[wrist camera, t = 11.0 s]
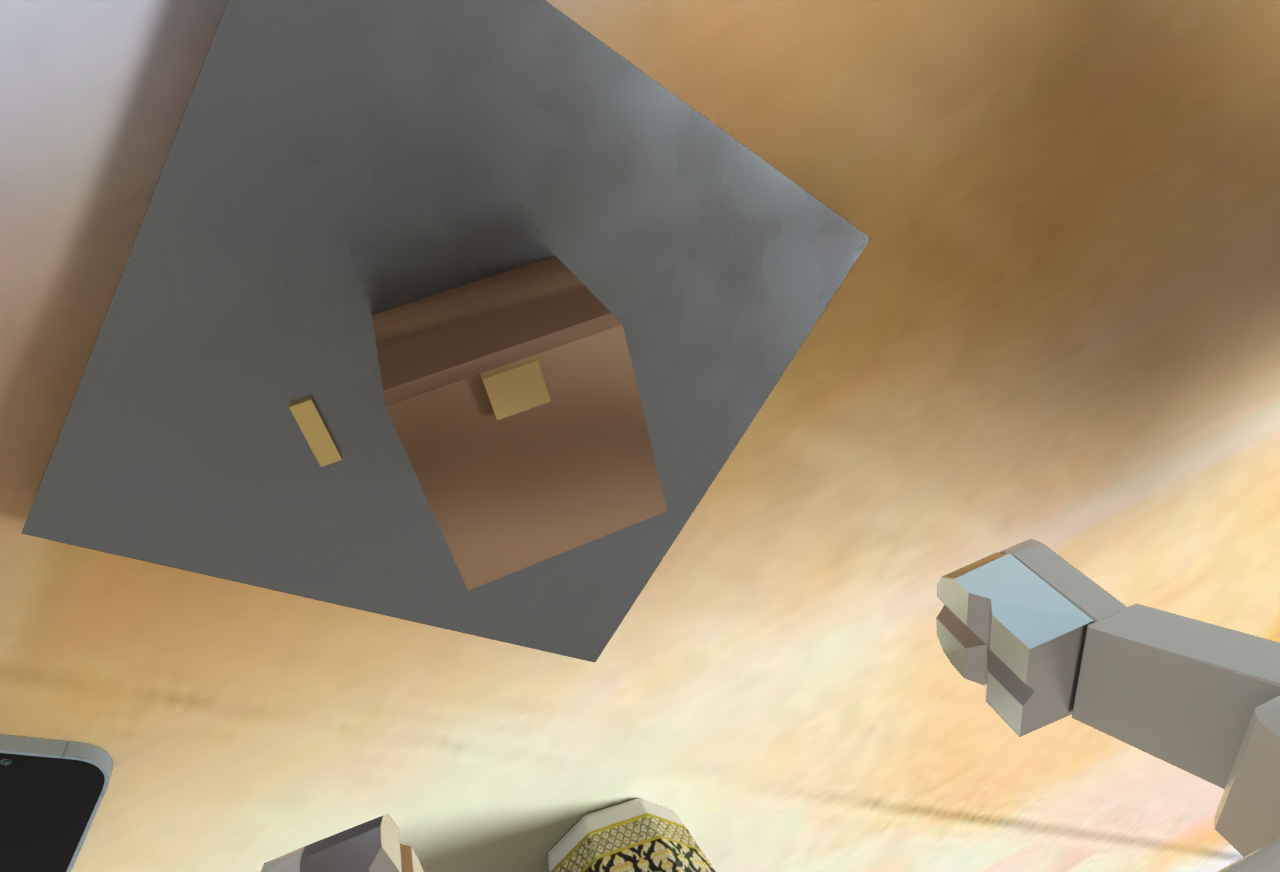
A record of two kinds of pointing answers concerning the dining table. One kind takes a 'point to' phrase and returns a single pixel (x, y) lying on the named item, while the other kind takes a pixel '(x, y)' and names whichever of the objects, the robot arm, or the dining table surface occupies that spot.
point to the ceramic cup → (628, 842)
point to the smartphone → (48, 801)
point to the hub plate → (410, 271)
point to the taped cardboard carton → (518, 417)
